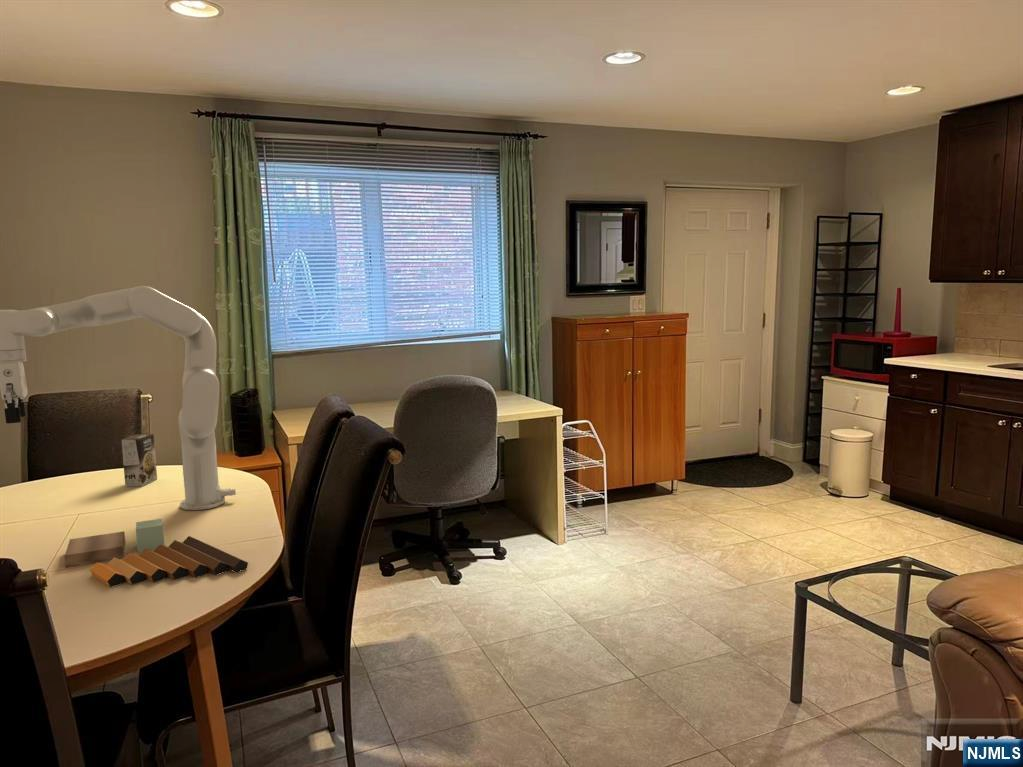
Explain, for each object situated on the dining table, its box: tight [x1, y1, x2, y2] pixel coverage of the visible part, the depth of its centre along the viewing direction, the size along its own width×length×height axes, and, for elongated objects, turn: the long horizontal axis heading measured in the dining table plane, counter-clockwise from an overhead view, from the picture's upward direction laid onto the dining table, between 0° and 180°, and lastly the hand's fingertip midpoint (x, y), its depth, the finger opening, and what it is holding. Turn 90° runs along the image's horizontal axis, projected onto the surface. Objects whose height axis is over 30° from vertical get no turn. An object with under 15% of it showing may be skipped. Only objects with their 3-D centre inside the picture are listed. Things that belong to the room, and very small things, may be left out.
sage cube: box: [135, 518, 165, 553], centre depth 179 cm, size 6×6×6 cm
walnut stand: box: [64, 531, 126, 568], centre depth 173 cm, size 12×12×3 cm
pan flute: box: [89, 535, 249, 588], centre depth 162 cm, size 25×3×25 cm
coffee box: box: [121, 433, 158, 488], centre depth 236 cm, size 9×6×16 cm
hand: (16, 419), depth 188 cm, fingers open, 9 cm apart
